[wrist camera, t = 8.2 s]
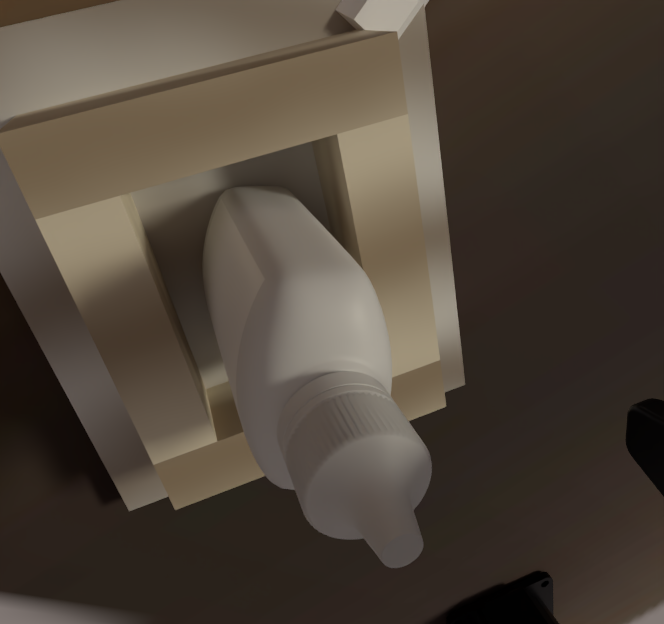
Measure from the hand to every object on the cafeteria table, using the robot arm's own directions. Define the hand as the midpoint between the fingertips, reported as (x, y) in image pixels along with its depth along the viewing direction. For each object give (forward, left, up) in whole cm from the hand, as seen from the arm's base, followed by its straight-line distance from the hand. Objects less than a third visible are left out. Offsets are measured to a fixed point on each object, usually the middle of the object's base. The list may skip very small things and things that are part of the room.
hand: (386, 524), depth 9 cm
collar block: (0, 0, -13) cm, 13 cm away
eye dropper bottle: (0, 0, -12) cm, 12 cm away
